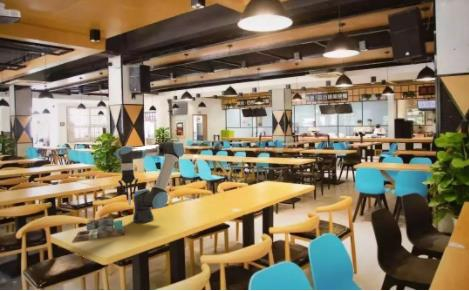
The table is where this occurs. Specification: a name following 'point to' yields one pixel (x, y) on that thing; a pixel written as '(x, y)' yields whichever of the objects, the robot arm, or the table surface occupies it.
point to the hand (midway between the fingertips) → (130, 204)
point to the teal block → (118, 225)
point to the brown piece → (100, 231)
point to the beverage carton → (96, 223)
